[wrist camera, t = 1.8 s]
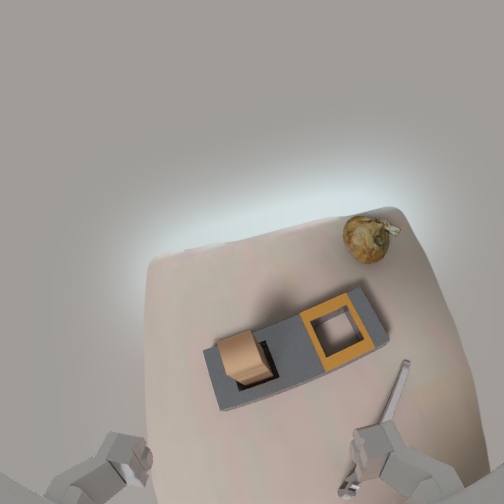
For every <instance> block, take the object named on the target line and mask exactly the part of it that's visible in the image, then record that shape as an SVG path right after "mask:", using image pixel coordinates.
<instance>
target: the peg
mask: <svg viewBox="0 0 504 504" xmlns="http://www.w3.org/2000/svg"><path fill="white" fill-rule="evenodd" d="M217 345H218V348H219V351H220V355H221V358H222V361H223V365H224V368H225V371H226V374H227V375H228V376H230V377H232V378H233V379H235V380H237V381H238V382H240V383H242V384H243V385H245V386H247V387H248V386H251V385H254V384H257V383H260V382H262V381H265V380H268V379H271V378H273V377H274V374H273V372H272V369H271V366H270V364H269V361H268V358H267V356H266V353H265V351H264V350H263V348H262V347H261V345H260V344H259V342H258V341H257V339H256V338H255V336H254V335H253V333H252V332H251V330H248V331H245V332H242V333H240V334H237V335H234V336H232V337H229V338H226V339H223V340H220V341H218V342H217Z"/></svg>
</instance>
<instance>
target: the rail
mask: <svg viewBox="0 0 504 504" xmlns="http://www.w3.org/2000/svg"><path fill="white" fill-rule="evenodd" d="M344 312H345V314H346V316H347V318H348V320H349V321H350V323H351V325H352V327H353V329H354V331H355V333H356V335H357V337H358V339H359V341H360V342H358V343H356V344H354V345H352V346H350V347H348V348H346V349H344V350H342V351H340V352H337V353H335V354H333V355H331V356H329V357H326V356H325V354H324V351H323V349H322V347H321V345H320V343H319V341H318V338H317V336H316V334H315V332H314V330H313V328H312V327H313V326H316V325H318V324H320V323H322V322H325V321H327V320H329V319H331V318H333V317H336V316H338V315H340V314H342V313H344ZM253 335H254V336H255V338H256V339H257V341H258V342H259V344H260V345H261V347H264V346H267V345H268V348H269V350H270V353H271V356H272V358H273V361H274V363H275V366H276V369H277V371H278V374H279V376H280V377H279V378H277V379H274V380H271V381H269V382H266V383H263V384H260V385H257V386H255V387H252V388H249V389H246V390H242V387H241V384H240V382H238V381H237V380H235V379H233V378H232V377H230V376H228V375H227V374H226V371H225V368H224V365H223V361H222V358H221V355H220V351H219V348H218V345H217V346H215V347H212V348H209V349H206V350H203V353H204V357H205V360H206V364H207V368H208V371H209V375H210V378H211V382H212V385H213V388H214V392H215V395H216V398H217V401H218V405H219V408H220V410H221V411H229V410H232V409H235V408H239V407H242V406H245V405H248V404H251V403H254V402H257V401H260V400H263V399H266V398H269V397H271V396H274V395H277V394H280V393H282V392H285V391H288V390H290V389H293V388H295V387H298V386H300V385H303V384H305V383H308V382H310V381H312V380H315V379H317V378H319V377H322V376H324V375H326V374H329V373H331V372H333V371H335V370H337V369H339V368H342V367H344V366H346V365H348V364H350V363H352V362H354V361H356V360H358V359H360V358H362V357H364V356H366V355H368V354H370V353H372V352H374V351H376V350H377V349H379V348H381V347H383V346H385V345H386V344H387V343H388V342H389V340H390V339H389V337H388V335H387V333H386V331H385V330H384V328H383V326H382V324H381V322H380V320H379V319H378V317H377V315H376V313H375V311H374V310H373V308H372V306H371V304H370V303H369V301H368V299H367V297H366V296H365V294H364V292H363V290H362V289H361V287H358V288H356V289H354V290H352V291H350V292H348V293H344V294H341V295H339V296H337V297H335V298H333V299H330V300H328V301H326V302H324V303H321V304H319V305H317V306H315V307H312V308H310V309H308V310H305V311H303V312H301V313H299V314H298V315H295V316H293V317H291V318H288V319H286V320H283V321H281V322H278V323H276V324H273V325H271V326H268V327H266V328H263V329H261V330H258V331H256V332H253Z"/></svg>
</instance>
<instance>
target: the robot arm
mask: <svg viewBox="0 0 504 504" xmlns="http://www.w3.org/2000/svg"><path fill="white" fill-rule="evenodd" d="M353 438H354V439H353V440H352V441H351V444H350V454H351V459H352V462H354V463H355V464H357V465H356V468H355V471H356V475H357V478H358V481H359V482H361V481H365V480H369V479H373V478H377V477H379V478H380V479H381V480H383V481H384V482H385V483H387V484H388V485H390V486H391V487H392V488H394V489H395V490H396V491H398V492H399V493H401V494H402V495H404V496H405V497H406V498H408V500H407V501H406V503H405V504H504V463H503V464H502V465H501V466H499V467H498V468H496V469H495V470H493V471H492V472H490V473H489V474H487V475H486V476H484V477H483V478H481V479H480V480H478V481H476V482H475V483H473V484H471V485H470V486H468V487H466V488H465V487H464V485H463V484H462V482H461V480H460V478H459V477H458V475H457V473H456V471H455V470H454V468H453V467H452V466H450V465H448V464H445V463H443V462H441V461H439V460H437V459H435V458H432V457H430V456H428V455H426V454H424V453H422V452H420V451H418V450H416V449H414V448H412V447H406V445H405V443H404V442H403V440H402V438H401V436H400V434H399V432H398V430H397V428H396V427H395V425H394V423H393V421H391V420H389V421H385V422H382V423H377V424H373V425H369V426H365V427H361V428H357V429H355V430H354V431H353ZM145 445H146V441H145V439H144V438H142V437H136V436H130V435H125V434H121V433H115V432H109V433H108V434H107V435H106V438H105V439H104V441H103V443H102V445H101V447H100V448H99V450H98V452H97V454H96V456H95V457H91V458H89V459H87V460H85V461H84V462H82V463H80V464H78V465H76V466H74V467H73V468H71V469H69V470H67V471H65V472H63V473H61V474H59V475H57V476H55V477H54V479H53V480H52V482H51V484H50V486H49V487H48V489H47V491H46V493H45V495H44V496H41V495H40V494H38V493H36V492H34V491H33V490H31V489H29V488H27V487H25V486H24V485H22V484H20V483H19V482H17V481H15V480H14V479H12V478H11V477H9V476H8V475H6V474H4V473H3V472H2V471H0V504H104V503H106V502H107V501H108V500H109V499H110V498H112V497H113V496H114V495H116V494H117V493H118V492H119V491H120V490H122V489H123V488H124V487H125V486H126V484H128V485H133V486H138V487H145V485H146V482H147V479H148V474H147V471H148V470H149V469H151V467H152V464H153V456H152V452H151V450H150V449H149V448H148V447H146V446H145Z"/></svg>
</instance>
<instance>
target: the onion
mask: <svg viewBox="0 0 504 504" xmlns="http://www.w3.org/2000/svg"><path fill="white" fill-rule="evenodd" d="M387 232H388V233H390V234H392V235H394V236H398V235H399V232H400V229H399V228H397V227H395V226H393V225H391V224H390V223H389V222H388V221H387V220H384V219H378V220H377V219H376V218H374V219H373V220H372V218H371V219H369V218H367V217H364V216H356V217H353V218H351V219H350V220H349V221H348V222H347V223H346V225H345V227H344V232H343V239H344V243H345V246H346V247H347V249H348V250H349V251H350V253H351V254H352V255H353V256H354V257H355V258H357V259H358V260H360V261H361V262H363V263H366V264H370V263H373V262H377V261H379V260H381V259H382V258H383V257H384V255H385V254H386V252H387V249H388V245H389V236H388V233H387Z"/></svg>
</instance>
